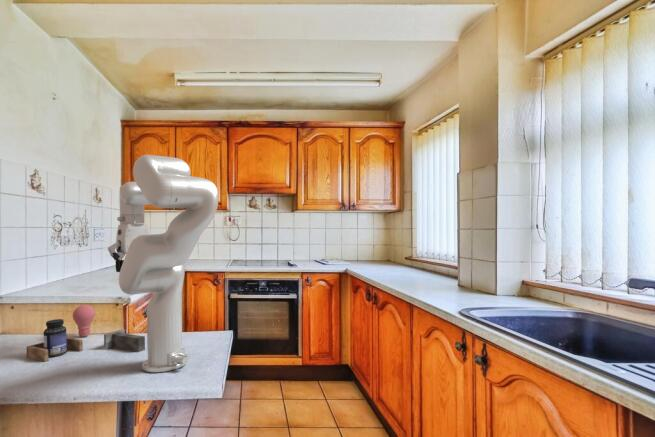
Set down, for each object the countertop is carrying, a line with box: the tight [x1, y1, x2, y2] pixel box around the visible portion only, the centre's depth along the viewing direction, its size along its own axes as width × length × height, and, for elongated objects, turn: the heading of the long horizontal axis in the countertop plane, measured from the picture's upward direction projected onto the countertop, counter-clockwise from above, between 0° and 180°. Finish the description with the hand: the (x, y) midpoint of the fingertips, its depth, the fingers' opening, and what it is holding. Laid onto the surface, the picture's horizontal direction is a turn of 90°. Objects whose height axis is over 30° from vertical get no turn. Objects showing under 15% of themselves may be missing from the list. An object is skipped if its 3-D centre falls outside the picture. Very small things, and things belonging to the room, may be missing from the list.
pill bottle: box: [43, 318, 68, 358], centre depth 125 cm, size 6×6×11 cm
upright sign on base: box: [103, 328, 146, 353], centre depth 130 cm, size 14×7×5 cm, turn 65°
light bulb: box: [72, 304, 96, 338], centre depth 144 cm, size 7×7×12 cm
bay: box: [26, 336, 84, 363], centre depth 125 cm, size 10×12×4 cm
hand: (133, 270), depth 131 cm, fingers open, 9 cm apart
